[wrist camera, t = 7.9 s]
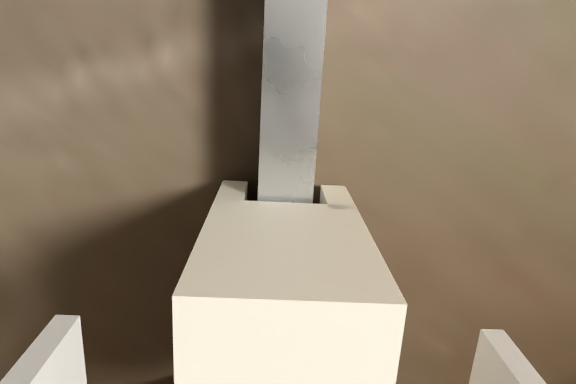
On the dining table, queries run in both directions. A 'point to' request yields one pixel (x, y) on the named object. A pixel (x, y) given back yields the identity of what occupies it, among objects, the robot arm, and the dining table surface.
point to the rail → (290, 98)
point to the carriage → (286, 296)
